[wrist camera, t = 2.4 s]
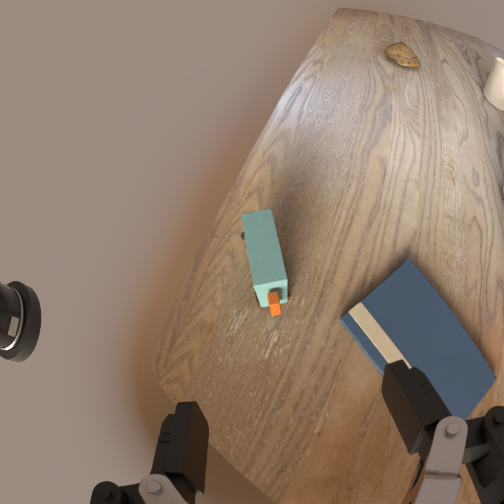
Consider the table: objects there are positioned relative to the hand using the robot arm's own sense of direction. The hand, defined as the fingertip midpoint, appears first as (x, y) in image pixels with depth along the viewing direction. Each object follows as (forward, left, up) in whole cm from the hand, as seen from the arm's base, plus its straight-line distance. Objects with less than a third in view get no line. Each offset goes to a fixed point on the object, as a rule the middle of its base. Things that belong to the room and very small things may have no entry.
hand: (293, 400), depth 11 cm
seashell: (+55, +30, -15) cm, 65 cm away
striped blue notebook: (+12, -7, -14) cm, 20 cm away
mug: (+71, +11, -15) cm, 74 cm away
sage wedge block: (+4, +9, -14) cm, 18 cm away
